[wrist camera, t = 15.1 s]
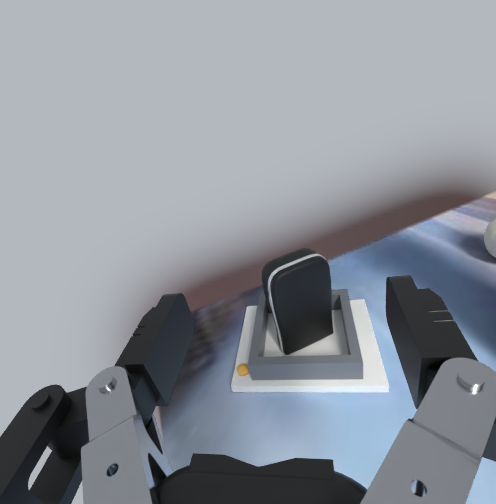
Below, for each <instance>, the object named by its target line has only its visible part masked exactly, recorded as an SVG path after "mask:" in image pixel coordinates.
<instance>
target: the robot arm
mask: <svg viewBox="0 0 496 504" xmlns="http://www.w3.org/2000/svg"><path fill="white" fill-rule="evenodd" d="M386 317H387V322H388V326H389V329H390V332H391V335H392V338H393V341H394V344H395V347H396V350H397V353H398V356H399V359H400V362H401V365H402V368H403V371H404V374H405V377H406V380H407V383H408V386H409V389H410V392H411V395H412V398H413V401H414V404H415V407H416V409H418V410H417V412H416V414H415V415H414V417H413V418H412V419H408V420H407V421H406V422H405V423H404V425H403V427H402V428H401V430H400V432H399V434H398V436H397V437H396V439H395V441H394V443H393V445H392V447H391V448H390V450H389V452H388V454H387V456H386V458H385V459H384V461H383V463H382V465H381V467H380V468H379V470H378V472H377V474H376V476H375V478H374V479H373V481H372V483H371V485H370V487H369V489H368V490H367V489H366V488H365V487H363V486H362V485H361V484H359V483H358V482H356V481H355V480H353V479H351V478H349V477H347V476H345V475H343V474H341V473H338V472H335V471H334V465H333V460H330V459H307V458H294V459H290V460H286V461H281V462H277V463H273V464H269V465H265V466H261V467H257V466H253V465H251V464H248V463H245V462H243V461H240V460H237V459H234V458H232V457H229V456H226V455H215V454H193V455H192V459H191V463H190V465H189V466H186V467H184V468H181V469H179V470H177V471H175V472H173V470H172V468H171V466H170V464H169V461H168V459H167V455H166V452H165V449H164V445H163V442H162V439H161V436H160V432H159V429H158V426H157V422H156V419H155V417H154V415H153V412H154V409H155V407H156V406H168V403H169V400H170V398H171V395H172V392H173V390H174V387H175V384H176V381H177V379H178V376H179V373H180V371H181V368H182V365H183V362H184V360H185V357H186V354H187V352H188V349H189V346H190V344H191V341H192V338H193V335H194V331H195V323H194V319H193V317H192V314H191V312H190V309H189V307H188V304H187V302H186V299H185V297H184V295H183V294H182V293H178V294H166V295H163V296H162V297H161V299H160V301H159V303H158V305H157V306H156V307H154V308H152V309H151V310H150V311H149V312H148V313H147V314H145V315H144V317H143V318H142V320H141V321H140V323H139V325H138V328H137V329H136V330H135V332H134V333H133V337H131V338H130V340H129V342H128V344H127V345H126V347H125V349H124V350H123V352H122V354H121V355H120V357H119V359H118V361H117V363H116V364H115V366H114V367H110V368H107V369H105V370H103V371H102V372H100V373H99V374H97V375H96V376H95V377H94V378H93V379H92V380H91V382H90V383H89V385H88V387H84V388H81V389H78V390H75V391H72V392H69V393H66V392H65V391H64V389H63V388H62V387H61V386H60V385H50V386H47V387H45V388H43V389H41V390H39V391H38V392H36V393H35V394H34V395H33V396H31V397H30V398H29V399H28V400H27V401H26V403H25V404H24V405H23V407H22V408H21V410H20V411H19V412H18V413H17V415H16V416H15V418H14V419H13V420H12V422H11V423H10V425H9V426H8V427H7V429H6V430H5V431H4V433H3V434H2V435H1V437H0V504H71V503H72V500H73V499H74V496H75V494H76V492H77V490H78V488H79V485H80V483H81V481H83V499H84V504H466V501H467V498H468V495H469V493H470V490H471V487H472V484H473V481H474V478H475V475H476V473H477V470H478V467H479V464H480V461H481V458H482V457H484V458H487V459H490V460H493V461H496V372H495V371H493V370H492V369H491V368H490V367H488V366H486V365H485V364H483V363H481V362H479V361H478V360H477V358H476V357H475V355H474V353H473V352H472V350H471V348H470V347H469V345H468V343H467V341H466V340H465V338H464V336H463V335H462V333H461V331H460V329H459V328H458V326H457V324H456V323H455V322H454V320H453V317H452V316H451V314H450V312H448V309H447V307H446V305H445V304H444V302H443V300H442V299H441V297H439V296H438V295H437V294H435V293H434V292H433V291H431V290H430V289H429V288H428V289H417V287H416V285H415V283H414V281H413V279H412V277H411V276H410V275H408V276H395V277H387V281H386ZM47 446H48V447H49V448H50V449H51V450H52V452H51V454H50V455H49V457H48V459H47V461H46V463H45V464H44V466H43V468H42V470H41V471H40V473H39V475H38V476H37V478H36V480H35V482H34V484H33V485H32V487H31V489H30V491H29V489H28V481H29V477H30V474H31V473H32V471H33V469H34V468H35V466H36V464H37V462H38V461H39V459H40V457H41V456H42V454H43V452H44V450H45V449H46V447H47Z"/></svg>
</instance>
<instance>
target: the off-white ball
mask: <svg viewBox="0 0 496 504" xmlns="http://www.w3.org/2000/svg"><path fill="white" fill-rule="evenodd" d="M484 243H485V246H486V249H487V250H488V252H489V253H490V254H491V255H492V256H494V257H495V258H496V219H494V220H493V221H492V222H490V224H489V225H488V226H487V228H486V231H485V234H484Z"/></svg>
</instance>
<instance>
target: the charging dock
mask: <svg viewBox="0 0 496 504" xmlns="http://www.w3.org/2000/svg"><path fill="white" fill-rule="evenodd" d="M331 292H332V322H333V331H334V332H333V334H331V335H329V336H327V337H325V338H323V339H322V340H319V341H317V342H315V343H313V344H311V345H309V346H307V347H305V348H303V349H301V350H298V351H296V352H294V353H292V354H289V355H285V353H283V352H282V350H281V348H280V346H279V344H278V340H277V331H276V326H275V323H274V319H273V316H272V312H271V308H270V307H269V306H268V304H267V302H266V298H265V295H259V297H258V304H257V306H247V309H246V314H245V319H244V324H243V329H242V334H241V339H240V344H239V349H238V354H237V358H236V363H235V368H234V373H233V378H232V383H231V388H232V391H233V392H389V384H388V380H387V377H386V373H385V370H384V366H383V363H382V359H381V356H380V352H379V349H378V345H377V342H376V338H375V335H374V331H373V328H372V324H371V321H370V317H369V314H368V310H367V307H366V303H365V300H364V299H360V300H349V296H348V292H347V289H340V290H331Z"/></svg>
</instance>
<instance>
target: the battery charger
mask: <svg viewBox="0 0 496 504" xmlns="http://www.w3.org/2000/svg"><path fill="white" fill-rule="evenodd" d="M262 282H263V288H264V294H265V298H266V302H267V304H268V306H269V307H270V308H271V312H272V316H273V319H274V323H275V326H276V331H277V340H278V344H279V346H280V348H281V350H282V352H283V353H285V355H289V354H292V353H294V352H296V351H298V350H301V349H303V348H305V347H307V346H309V345H311V344H313V343H315V342H317V341H319V340H322V339H323V338H325V337H327V336H329V335H331V334H333V332H334V331H333V322H332V292H331V278H330V269H329V265H328V262H327V261H326V259H325V258H324V257H323V256H322V255H320V254H317V253H316V252H315V251H313V250H311V249H308V248H303V249H299V250H297V251H294V252H291V253H289V254H286V255H283V256H281V257H278V258H276V259H274V260H272V261H270V262H268V263H267V264H266V265H265V266H264V267H263V270H262Z"/></svg>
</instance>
